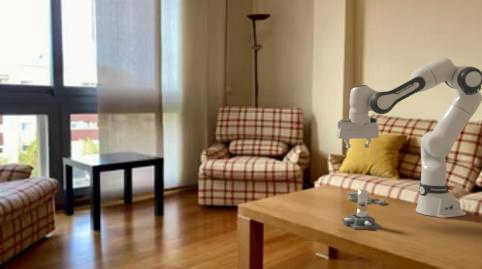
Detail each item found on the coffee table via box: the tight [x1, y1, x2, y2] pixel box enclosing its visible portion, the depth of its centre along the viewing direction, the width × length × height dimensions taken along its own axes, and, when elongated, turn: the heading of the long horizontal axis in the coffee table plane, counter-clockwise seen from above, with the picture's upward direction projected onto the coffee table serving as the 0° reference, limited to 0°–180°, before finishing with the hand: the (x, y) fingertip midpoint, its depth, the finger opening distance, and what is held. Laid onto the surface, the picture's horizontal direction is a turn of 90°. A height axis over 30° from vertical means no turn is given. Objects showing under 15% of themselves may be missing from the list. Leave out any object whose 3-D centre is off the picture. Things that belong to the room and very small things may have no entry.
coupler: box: [356, 188, 369, 219], centre depth 180 cm, size 4×4×14 cm
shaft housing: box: [341, 213, 382, 231], centre depth 180 cm, size 14×14×4 cm
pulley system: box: [347, 191, 386, 206], centre depth 224 cm, size 27×5×15 cm
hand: (357, 147), depth 199 cm, fingers open, 8 cm apart
